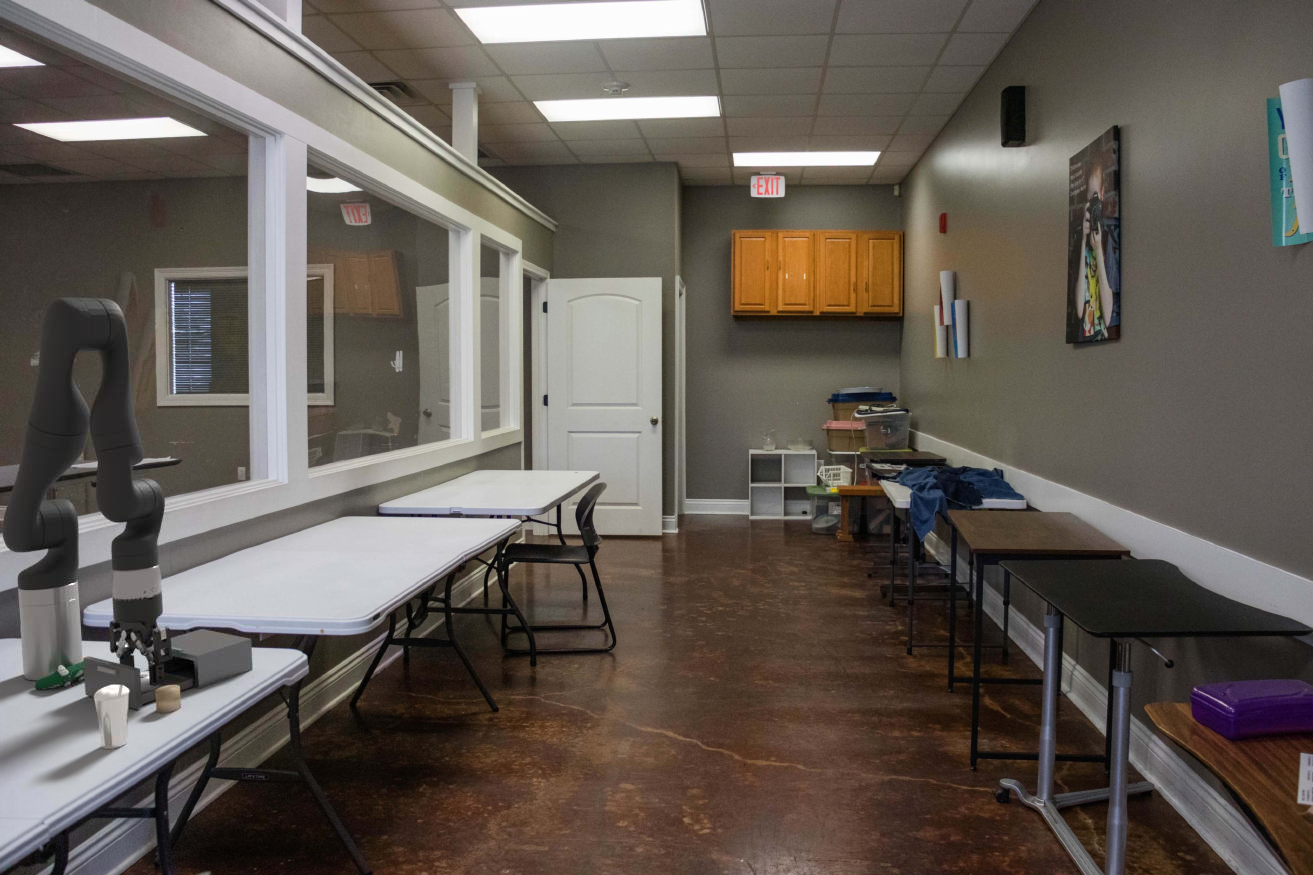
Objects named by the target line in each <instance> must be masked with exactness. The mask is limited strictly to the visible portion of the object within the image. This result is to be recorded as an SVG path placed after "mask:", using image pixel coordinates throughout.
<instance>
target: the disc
mask: <svg viewBox="0 0 1313 875" xmlns="http://www.w3.org/2000/svg"><path fill="white" fill-rule="evenodd" d="M140 677H141V693H144V692H148V691H152V690H155V689H157V688H159V687H160V686H161V684H159V685H156V686H151V685H150V681H149V671H146V670H144V672H142V671H140Z"/></svg>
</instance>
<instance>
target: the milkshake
mask: <svg viewBox="0 0 1313 875" xmlns="http://www.w3.org/2000/svg"><path fill="white" fill-rule="evenodd" d="M93 699H94V705H95V710H96V715H97V722H98V728H99V735H100V742H101V747H102V748H103V749H105V750H110V749H111V750H113V749H117V748H121V747H122V746H125V745H127V743H128V736H129V735H128V734H129V707H128V706H129V689H128V688H127V687H125V686H123V685H109V686H106V687H104V688H102V689H99V690H98V691H97V692H96V693H95V694H94V697H93Z"/></svg>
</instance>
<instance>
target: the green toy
mask: <svg viewBox="0 0 1313 875" xmlns="http://www.w3.org/2000/svg"><path fill="white" fill-rule="evenodd" d="M89 656H90V655H86V656H85V657H89ZM74 680H75V681H85V678H84V662H80V663H78V664H75V665H72V666H70V667H67V668H65V667H64V666H62V665H60V666H59V667H58V669H57V670H56V671H55V673H53V674H50V675H48V676H45V677H43V678H41V679H39V680H36V683H35V685H34V689H35V690H39V691H40V690H47V689H51V688H55V687H58V686H62V687H69V686H70V685H71V684H72V683H71V682H72V681H74Z"/></svg>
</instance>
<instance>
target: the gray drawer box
mask: <svg viewBox="0 0 1313 875" xmlns="http://www.w3.org/2000/svg"><path fill="white" fill-rule="evenodd" d="M151 647H153V645H152V646H151ZM171 647H172V660H169V661H166V662H164V672H166V673H169V672H171V671H173V670H176V669H177V670H178V669H180V668H184V667H186V666H189V665H192V664H194V666H193V668H194V682H195V684H194V685H195V688H197V689H201V688H205V687H208V686H210V685H213V684H215V683H218V682H221V681H223V680H226V679H227V680H228V679H229V678H233V677H235V676H238V675H241V674H244V673H246V672H247V673H248V672H249V671H252V670H253V650H252V639H251V638H249V637H245V636H238V635H235V634H234V635H233V634H229V633H223V632H220V631H218V632H217V631H213V630H208V629H204V628H203V629H202V628H201V629H197V630H195V631H190V632H187V633H184V634H181V635H177V636H173V637H171ZM149 648H150V647H149ZM162 650H163V652H164V654H165V648H164V649H162ZM152 655H153V657H154V653H152ZM154 658H155V657H154ZM149 666H150V665H149V663H148V662H147V667H148V669H147V670H149Z"/></svg>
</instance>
